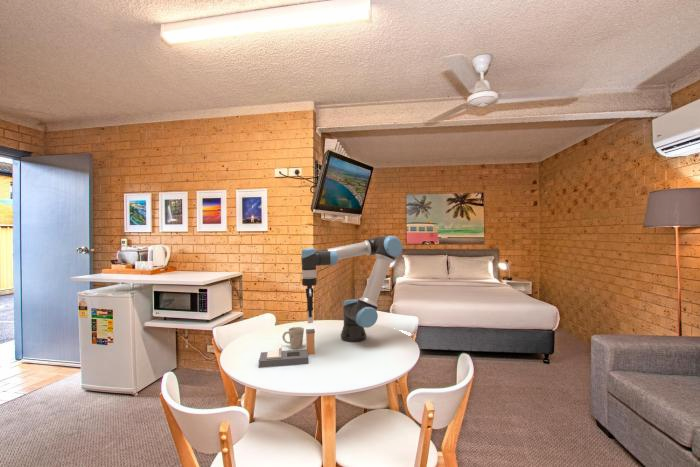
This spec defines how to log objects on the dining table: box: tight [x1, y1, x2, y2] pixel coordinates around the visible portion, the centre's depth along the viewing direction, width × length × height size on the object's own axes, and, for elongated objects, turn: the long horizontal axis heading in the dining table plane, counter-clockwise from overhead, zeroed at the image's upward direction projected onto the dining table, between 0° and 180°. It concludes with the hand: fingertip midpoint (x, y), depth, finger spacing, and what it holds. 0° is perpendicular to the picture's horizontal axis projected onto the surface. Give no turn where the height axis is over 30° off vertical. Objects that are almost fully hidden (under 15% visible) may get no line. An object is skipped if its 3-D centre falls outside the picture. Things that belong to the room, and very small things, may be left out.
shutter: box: [267, 343, 283, 359], centre depth 159 cm, size 7×9×4 cm
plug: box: [305, 328, 316, 356], centre depth 170 cm, size 4×4×12 cm
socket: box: [258, 348, 309, 369], centre depth 160 cm, size 23×12×3 cm, turn 101°
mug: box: [282, 326, 305, 350], centre depth 180 cm, size 8×13×10 cm, turn 78°
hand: (310, 322), depth 170 cm, fingers closed
